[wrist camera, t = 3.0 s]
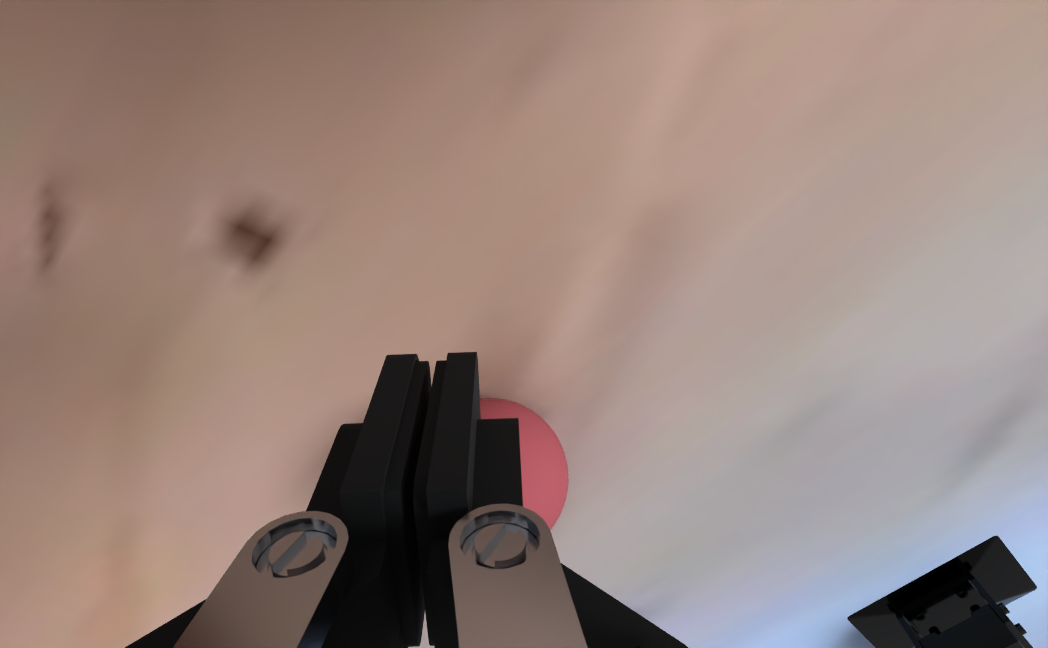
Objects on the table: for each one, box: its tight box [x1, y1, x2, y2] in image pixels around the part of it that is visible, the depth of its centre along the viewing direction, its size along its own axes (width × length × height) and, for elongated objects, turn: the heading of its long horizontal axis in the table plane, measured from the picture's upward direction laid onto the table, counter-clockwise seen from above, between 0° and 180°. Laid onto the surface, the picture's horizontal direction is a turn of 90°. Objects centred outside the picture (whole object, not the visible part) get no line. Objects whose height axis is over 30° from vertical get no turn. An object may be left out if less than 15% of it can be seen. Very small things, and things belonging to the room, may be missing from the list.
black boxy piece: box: [847, 536, 1037, 648], centre depth 31 cm, size 12×7×5 cm, turn 132°
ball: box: [480, 398, 568, 530], centre depth 24 cm, size 6×6×6 cm
